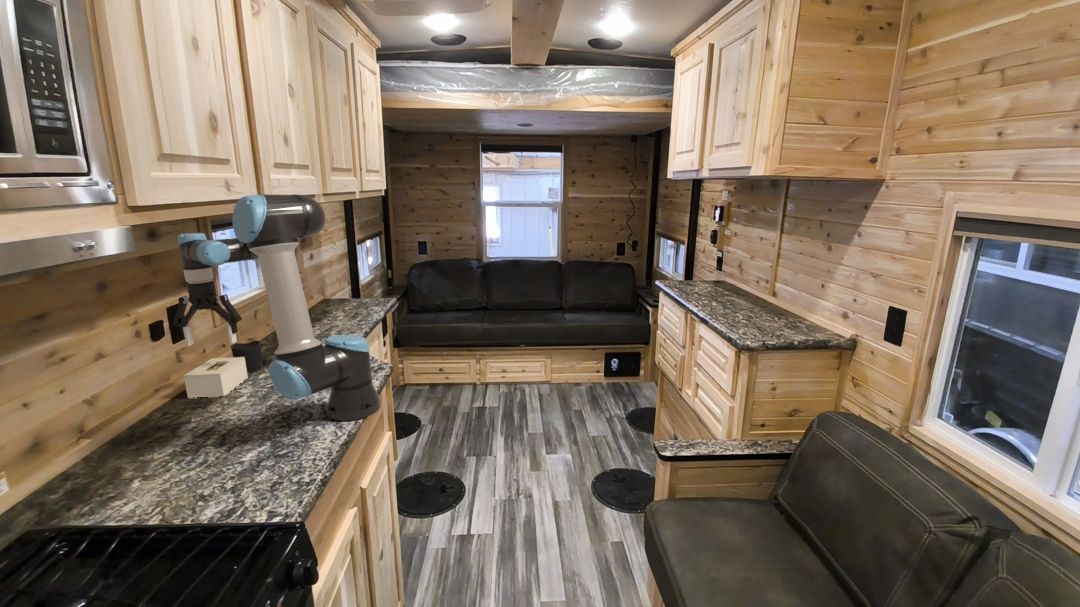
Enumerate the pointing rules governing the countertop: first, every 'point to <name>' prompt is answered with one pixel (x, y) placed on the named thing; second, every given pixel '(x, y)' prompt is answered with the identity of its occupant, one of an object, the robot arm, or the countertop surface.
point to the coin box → (215, 377)
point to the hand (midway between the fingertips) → (212, 343)
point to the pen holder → (249, 354)
